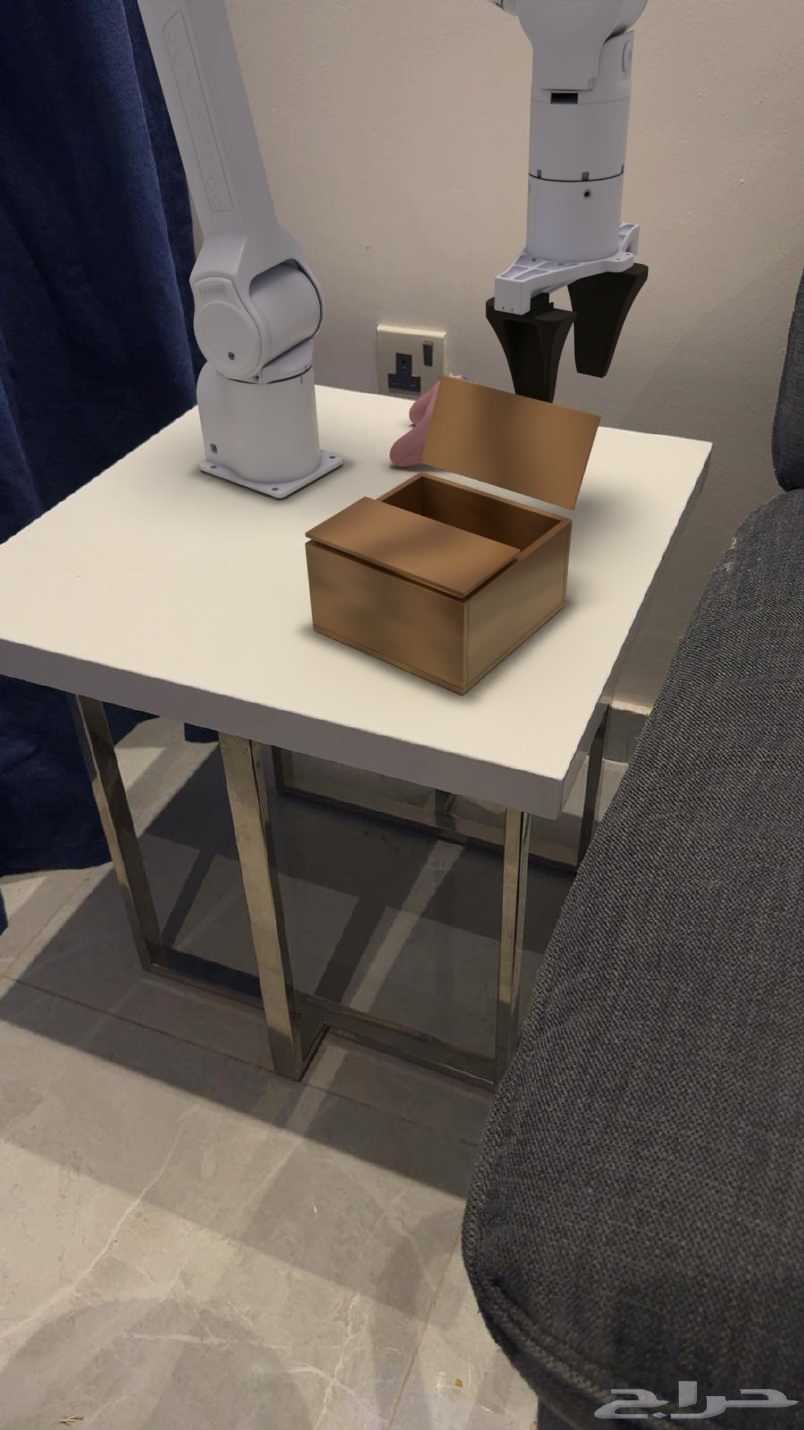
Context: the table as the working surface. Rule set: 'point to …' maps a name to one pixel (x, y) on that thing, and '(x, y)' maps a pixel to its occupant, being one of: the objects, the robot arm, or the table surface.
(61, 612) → the table surface
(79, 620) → the table surface
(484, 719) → the table surface
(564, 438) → the flap
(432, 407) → the video game controller
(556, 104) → the robot arm
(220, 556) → the table surface
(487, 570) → the wooden box
